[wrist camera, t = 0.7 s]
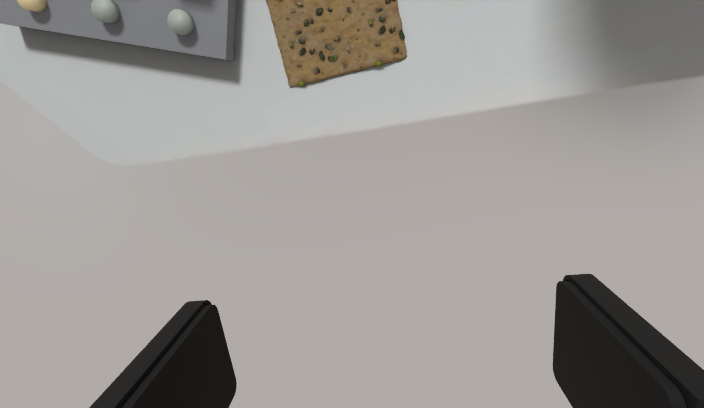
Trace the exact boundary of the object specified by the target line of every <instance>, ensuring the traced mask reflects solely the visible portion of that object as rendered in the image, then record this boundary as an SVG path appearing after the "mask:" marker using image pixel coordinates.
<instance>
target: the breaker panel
mask: <svg viewBox="0 0 704 408" xmlns="http://www.w3.org/2000/svg"><path fill="white" fill-rule="evenodd" d="M236 9H237V0H0V23H2V24H8V25H13V26H19V27H25V28H31V29H37V30H44V31H50V32H56V33H62V34H68V35H74V36H81V37H87V38H93V39H99V40H105V41H112V42H118V43H124V44H130V45H136V46H143V47H149V48H155V49H161V50H167V51H173V52H180V53H186V54H192V55H198V56H204V57H211V58H217V59H223V60H229V61H234V49H235V29H236Z"/></svg>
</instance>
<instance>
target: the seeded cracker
mask: <svg viewBox="0 0 704 408" xmlns="http://www.w3.org/2000/svg"><path fill="white" fill-rule="evenodd" d="M266 2H267V5H268V7H269V11H270V15H271V20H272V23H273V25H274V30H275V34H276V38H277V41H278V46H279V49H280V52H281V55H282V59H283V65H284V67H285V72H286V75H287V78H288V83H289V87H291V88H292V87H296V86H304V85H306V84H308V83H314V82H317V81H322V80H325V79H328V78H331V77H335V76H341V75H344V74H347V73H351V72H357V71H361V70H364V69H367V68H370V67H375V66H382V65H383V64H386V63H392V62H394V61H400V60H403V59H405V58H406V56H407V55H406V47H405V42H404V38H405V37H404V34H403V31H402V22H401V18H400V15H399V11H398V4H397V0H266Z"/></svg>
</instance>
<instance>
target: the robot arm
mask: <svg viewBox="0 0 704 408" xmlns="http://www.w3.org/2000/svg"><path fill="white" fill-rule="evenodd" d="M556 288H557V289H556V310H555V331H554V353H553V371H554V375H555V378H556V380H557V382H558V384H559V386H560V387H561V389H562V391H563V392H564V394H565V395H566V397H567V399H568V400H569V402H570V404H571V405H572V407H573V408H704V370H703V369H702V368H701V367H699V366H698V365H697V364H696V363H695V362H693V361H692V360H691V359H690V358H689V357H688V356H687V355H685V354H684V353H683V352H682V351H681V350H680V349H678V348H677V347H676V346H675V345H674V344H673V343H671V342H670V341H669V340H668V339H667V338H666V337H664V336H663V335H662V334H661V333H660V332H659V331H657V330H656V329H655V328H654V327H653V326H652V325H650V324H649V323H648V322H647V321H646V320H645V319H643V318H642V317H641V316H640V315H639V314H638V313H636V312H635V311H634V310H633V309H632V308H630V307H629V306H628V305H627V304H626V303H625V302H624V301H622V300H621V299H620V298H619V297H618V296H617V295H615V294H614V293H613V292H612V291H611V290H610V289H609V288H607V287H606V286H605V285H604V284H603V283H602V282H600V281H599V280H598V279H597V278H596V277H595V276H593V275H592V274H580V275H566V276H565V277H564V279H563V281H559V282H558V283H557V287H556ZM235 392H236V378H235V374H234V370H233V366H232V362H231V359H230V355H229V351H228V347H227V343H226V340H225V336H224V332H223V328H222V324H221V321H220V316H219V313H218V309H217V307H216V306H215V305H212V304H211V303H210V301H208V300H205V301H190V302H187V303H185V304H184V305H183V306H182V308H181V309H180V310H179V311H178V312H177V313H176V314H175V315H174V316H173V317H172V319H171V320H170V321H169V322H168V323H167V324H166V325H165V326H164V327H163V328H162V329H161V330H160V332H159V333H158V334H157V335H156V336H155V337H154V338H153V339H152V340H151V341H150V342H149V343H148V345H147V346H146V347H145V348H144V349H143V350H142V351H141V352H140V353H139V354H138V355H137V357H136V358H135V359H134V360H133V361H132V362H131V363H130V364H129V365H128V366H127V367H126V368H125V370H124V371H123V372H122V373H121V374H120V375H119V376H118V377H117V378H116V379H115V381H114V382H113V383H112V384H111V385H110V386H109V387H108V388H107V389H106V390H105V391H104V392H103V394H102V395H101V396H100V397H99V398H98V399H97V400H96V401H95V402H94V403H93V404H92V406H91V407H90V408H229V405H230V403H231V401H232V399H233V397H234V395H235Z"/></svg>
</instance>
